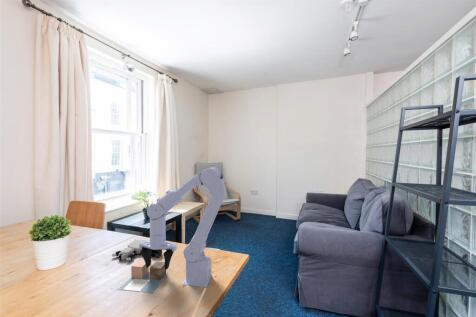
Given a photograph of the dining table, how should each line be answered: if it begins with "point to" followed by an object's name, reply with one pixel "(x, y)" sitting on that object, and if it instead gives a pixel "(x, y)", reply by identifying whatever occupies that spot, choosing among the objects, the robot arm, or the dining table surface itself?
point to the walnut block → (157, 271)
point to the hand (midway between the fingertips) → (157, 267)
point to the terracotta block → (139, 269)
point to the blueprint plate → (142, 284)
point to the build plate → (156, 253)
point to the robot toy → (129, 250)
